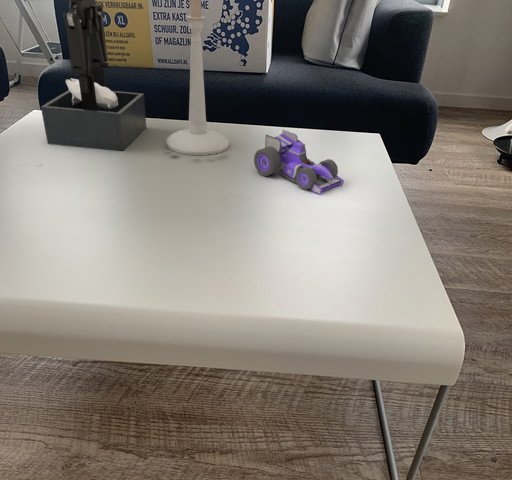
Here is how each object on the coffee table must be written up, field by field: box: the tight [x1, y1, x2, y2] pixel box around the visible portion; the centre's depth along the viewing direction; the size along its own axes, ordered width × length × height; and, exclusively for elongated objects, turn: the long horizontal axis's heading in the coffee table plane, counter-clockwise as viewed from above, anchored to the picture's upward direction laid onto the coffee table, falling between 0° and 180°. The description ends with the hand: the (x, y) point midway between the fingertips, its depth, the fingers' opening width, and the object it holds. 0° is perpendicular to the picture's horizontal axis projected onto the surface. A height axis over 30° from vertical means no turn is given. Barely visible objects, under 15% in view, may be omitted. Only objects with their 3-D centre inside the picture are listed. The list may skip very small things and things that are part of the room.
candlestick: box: [165, 0, 230, 156], centre depth 103 cm, size 13×13×30 cm
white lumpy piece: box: [65, 77, 118, 109], centre depth 109 cm, size 5×7×10 cm
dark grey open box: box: [40, 89, 147, 152], centre depth 112 cm, size 16×16×7 cm
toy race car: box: [253, 129, 345, 195], centre depth 99 cm, size 10×15×6 cm, turn 46°
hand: (95, 106), depth 110 cm, fingers closed on white lumpy piece, 5 cm apart
